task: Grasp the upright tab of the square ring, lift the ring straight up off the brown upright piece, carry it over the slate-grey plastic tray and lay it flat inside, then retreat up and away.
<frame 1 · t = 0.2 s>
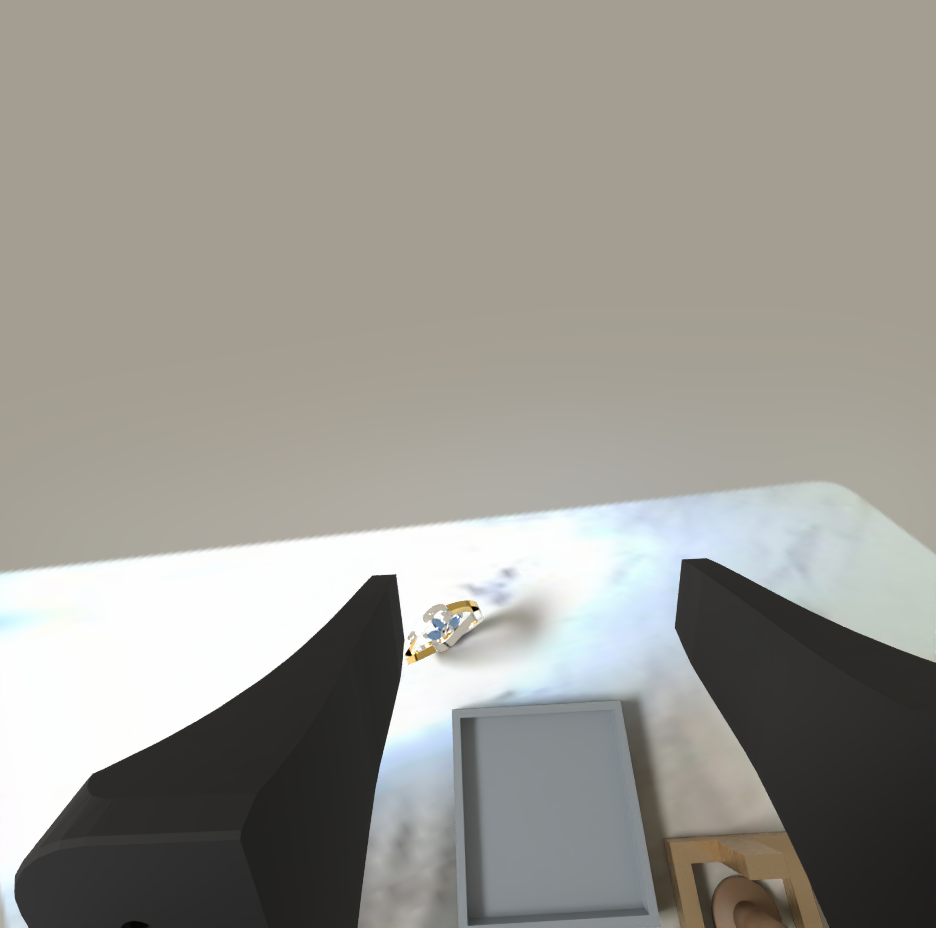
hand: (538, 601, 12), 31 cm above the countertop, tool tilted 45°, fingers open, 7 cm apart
ring 2: (446, 640, 41), on the countertop
tray: (543, 803, 35), on the countertop
ring: (744, 917, 32), on the countertop
brown upright piece: (744, 917, 32), on the countertop
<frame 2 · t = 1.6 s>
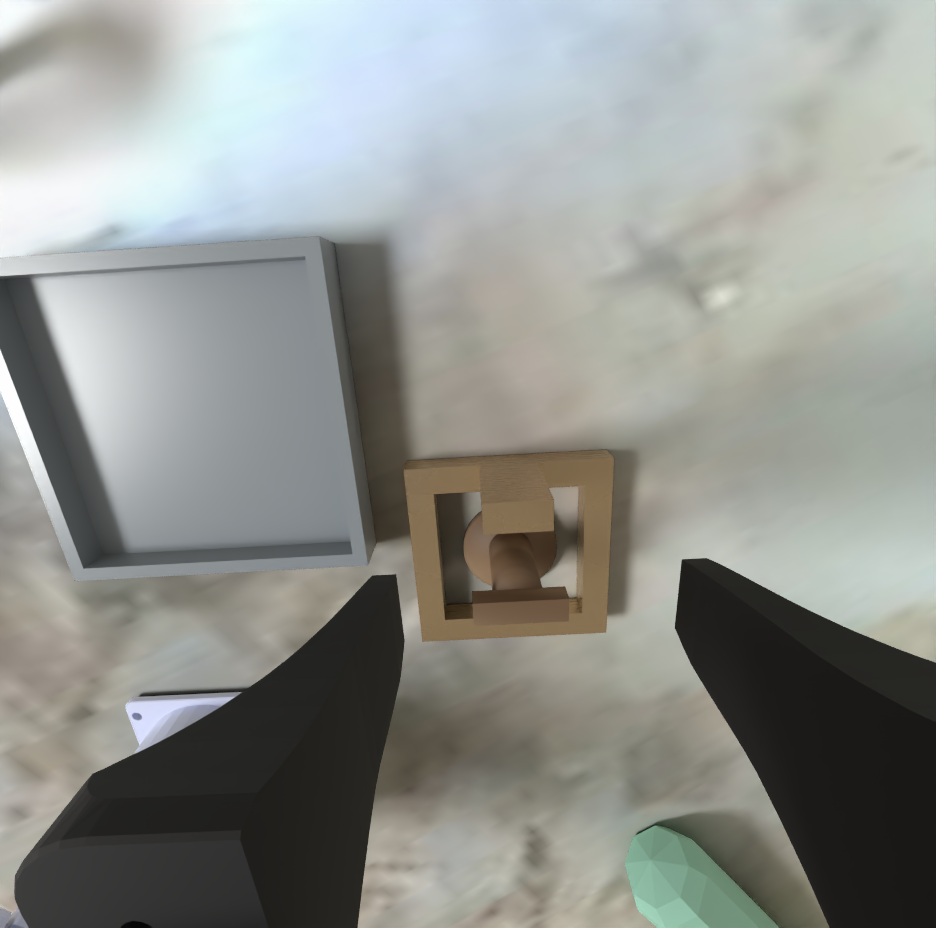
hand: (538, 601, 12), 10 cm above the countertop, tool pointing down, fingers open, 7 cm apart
container: (736, 910, 33), on the countertop
tray: (208, 418, 21), on the countertop
ring: (509, 543, 23), on the countertop
brown upright piece: (509, 543, 23), on the countertop
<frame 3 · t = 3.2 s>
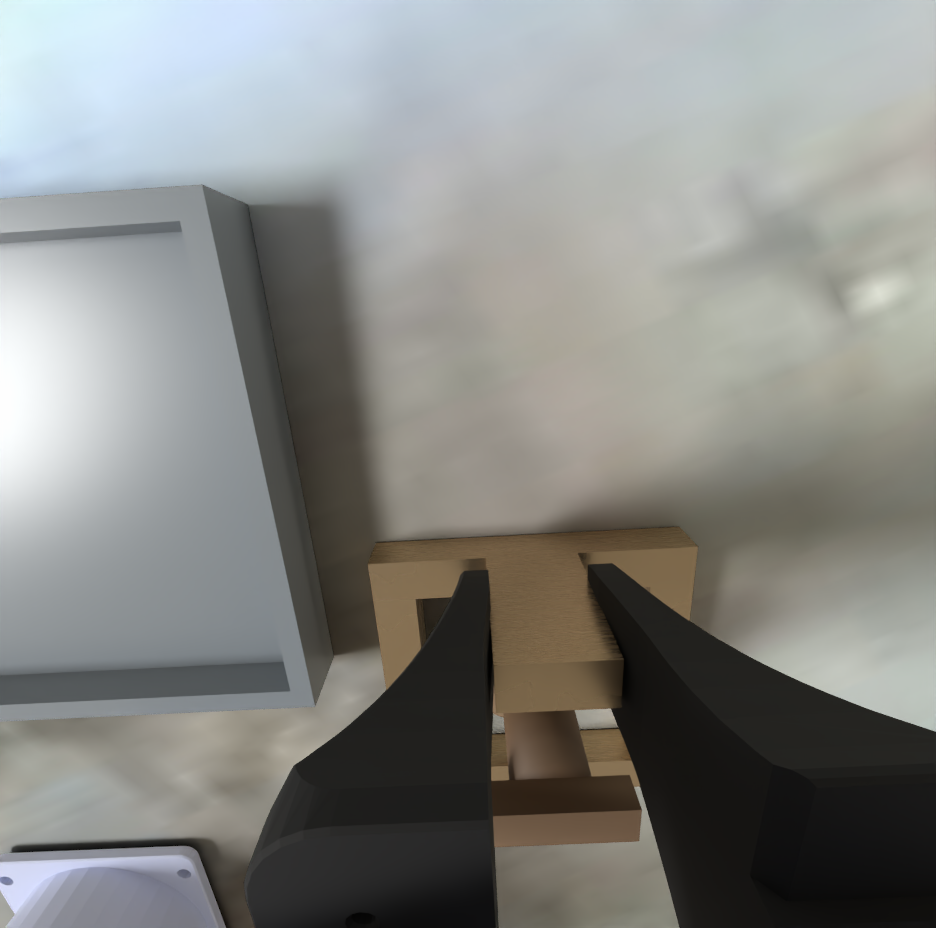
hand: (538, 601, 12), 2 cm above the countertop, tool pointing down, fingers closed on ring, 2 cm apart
tray: (67, 480, 13), on the countertop
ring: (529, 657, 15), on the countertop, touching gripper
brown upright piece: (529, 657, 15), on the countertop
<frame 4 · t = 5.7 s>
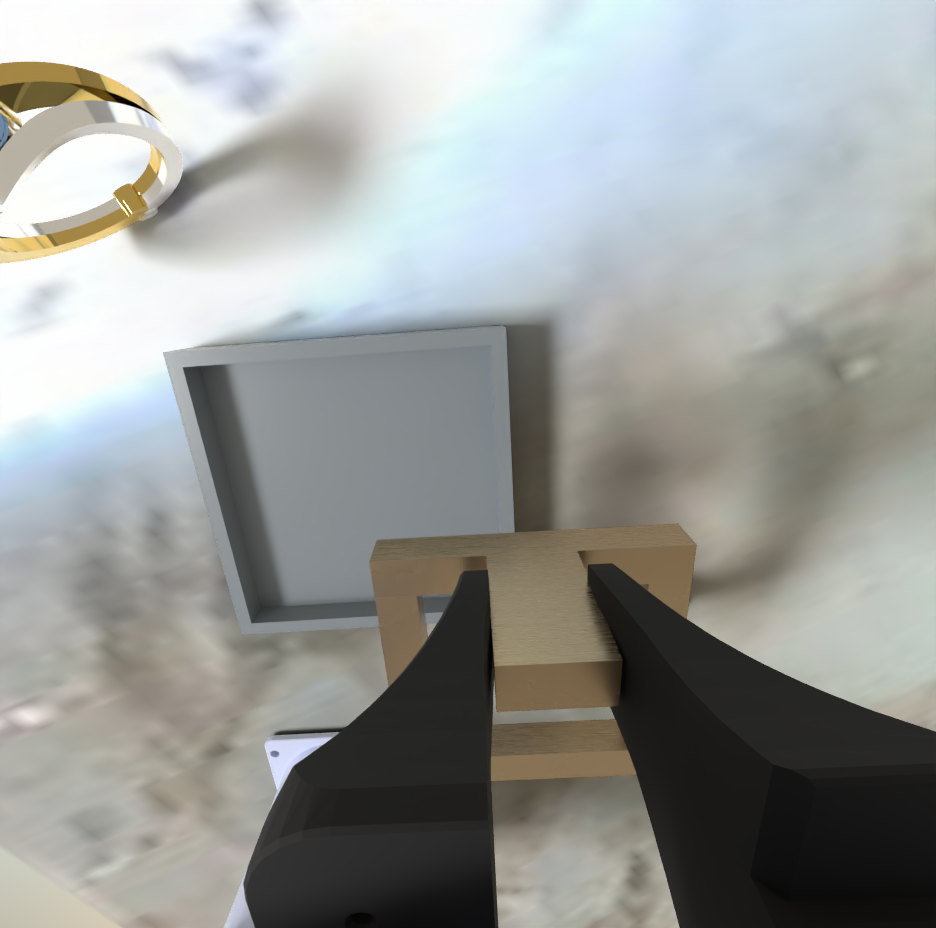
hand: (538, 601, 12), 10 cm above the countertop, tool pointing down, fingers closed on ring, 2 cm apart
ring 2: (148, 206, 18), on the countertop
tray: (367, 481, 22), on the countertop
ring: (528, 650, 16), point 8 cm above the countertop, touching gripper
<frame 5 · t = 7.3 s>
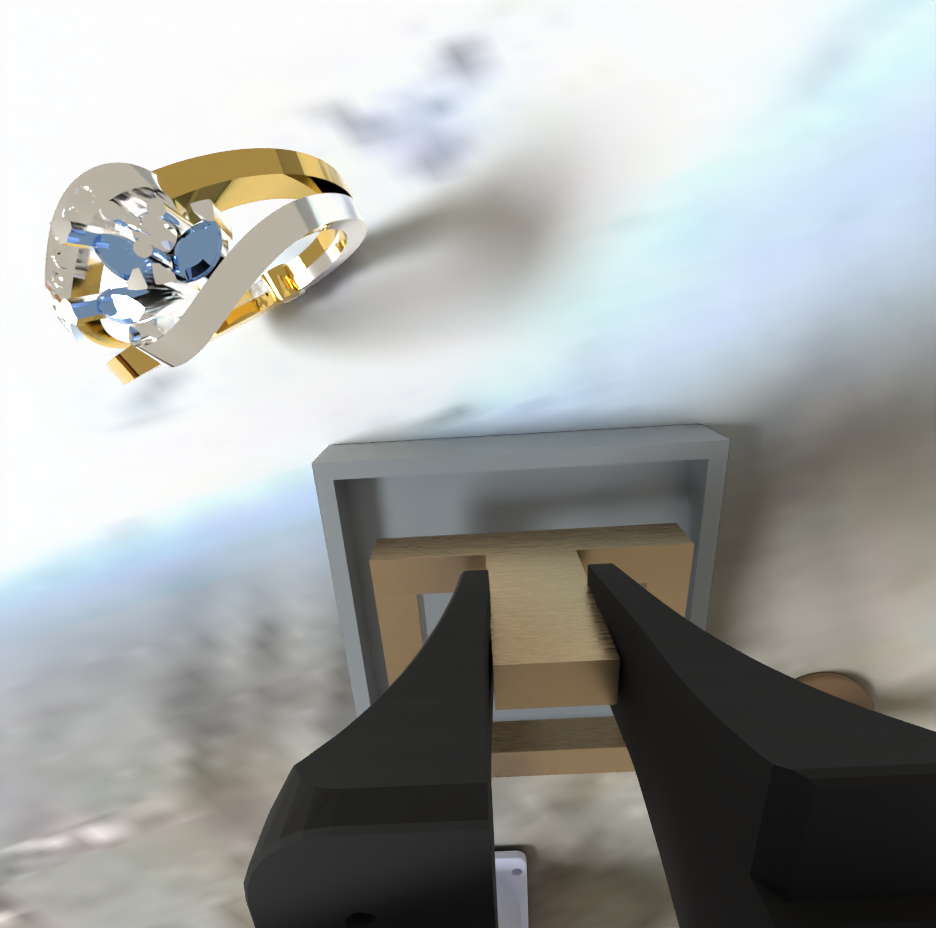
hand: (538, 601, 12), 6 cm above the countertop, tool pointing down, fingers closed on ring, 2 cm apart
ring 2: (292, 285, 15), on the countertop
tray: (517, 592, 19), on the countertop
ring: (527, 648, 16), point 3 cm above the countertop, touching gripper
brown upright piece: (813, 711, 21), on the countertop
when the fingers open (4 cm above the countertop, at t = 8.4 s): ring stays where it is, resting on tray.
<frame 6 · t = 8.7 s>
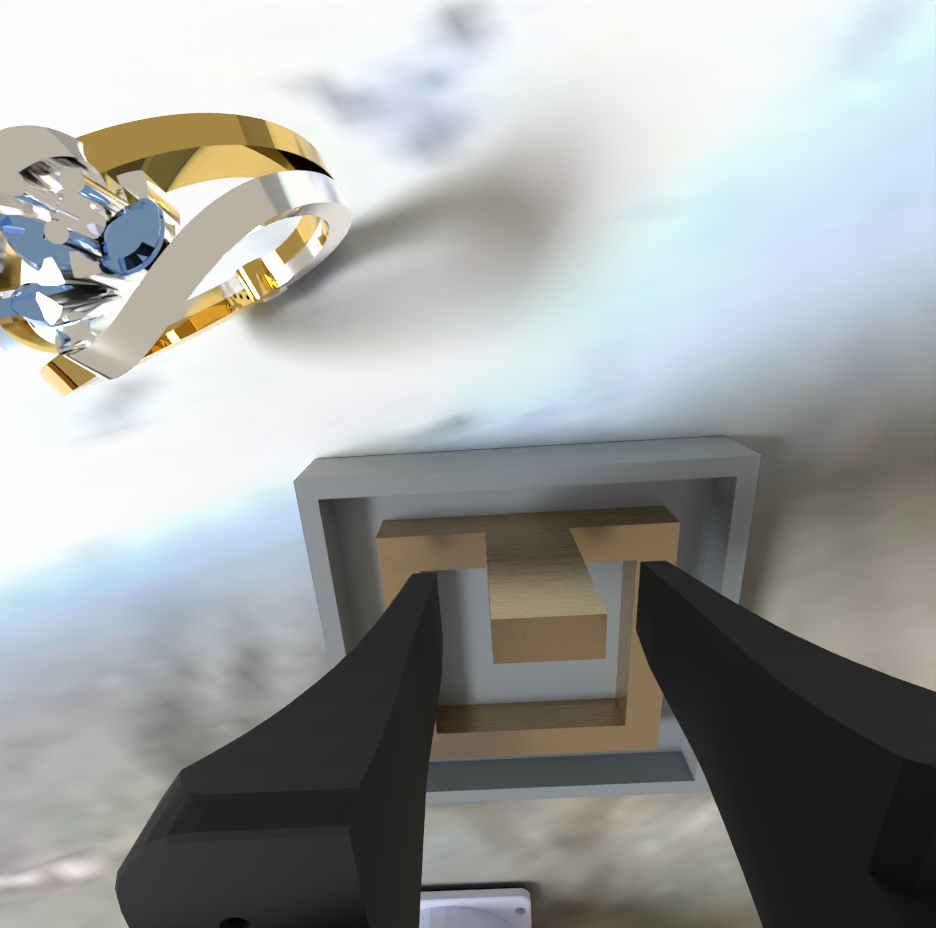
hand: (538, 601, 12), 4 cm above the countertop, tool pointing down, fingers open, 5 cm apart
ring 2: (272, 282, 14), on the countertop
tray: (522, 618, 17), on the countertop
ring: (525, 629, 16), point 1 cm above the countertop, touching tray
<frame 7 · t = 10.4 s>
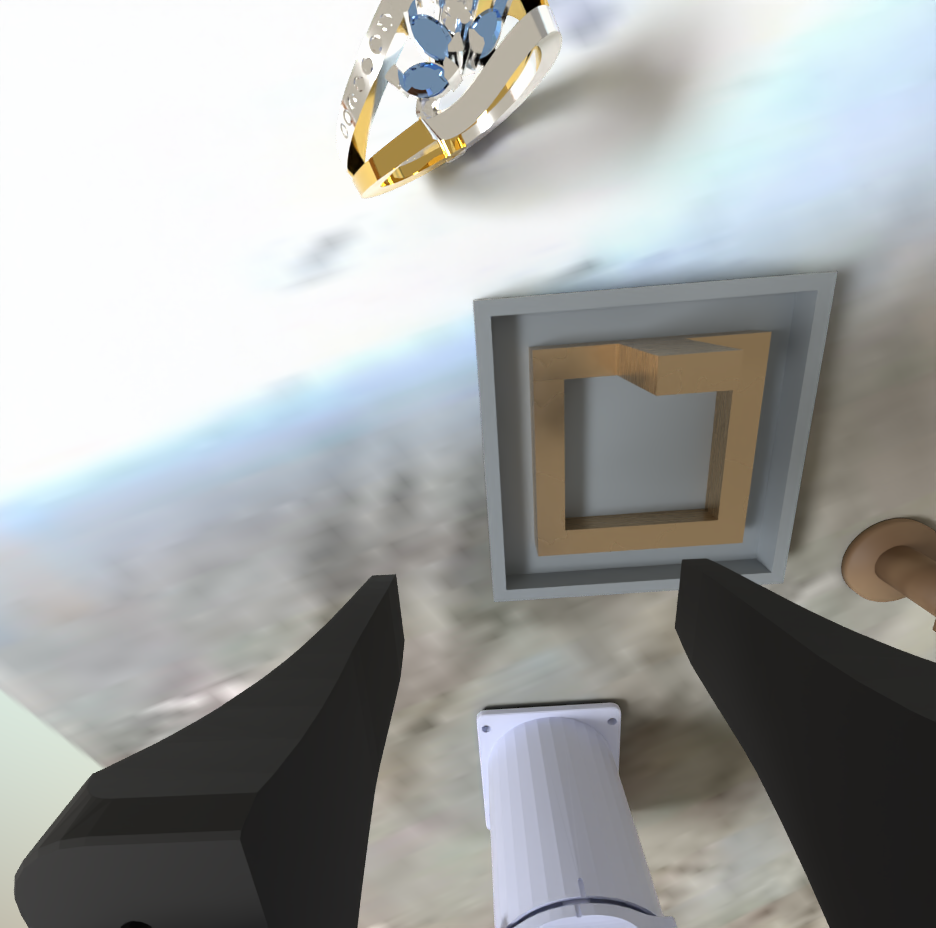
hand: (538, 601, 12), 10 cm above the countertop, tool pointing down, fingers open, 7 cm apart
ring 2: (451, 148, 18), on the countertop
tray: (628, 442, 21), on the countertop
ring: (635, 444, 20), point 1 cm above the countertop, touching tray
brown upright piece: (887, 558, 23), on the countertop
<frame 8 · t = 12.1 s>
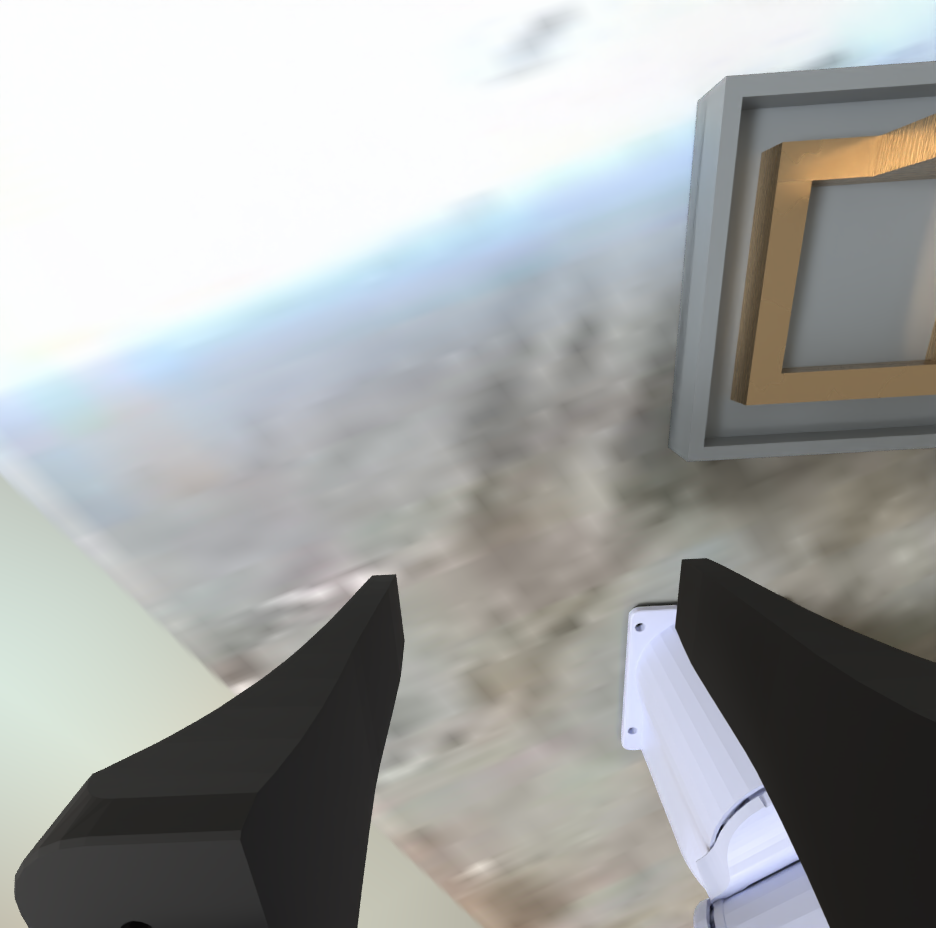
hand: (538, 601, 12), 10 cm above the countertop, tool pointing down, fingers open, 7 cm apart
tray: (844, 283, 19), on the countertop
ring: (861, 278, 18), point 1 cm above the countertop, touching tray
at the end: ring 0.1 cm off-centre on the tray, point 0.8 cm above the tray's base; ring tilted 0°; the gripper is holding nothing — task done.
